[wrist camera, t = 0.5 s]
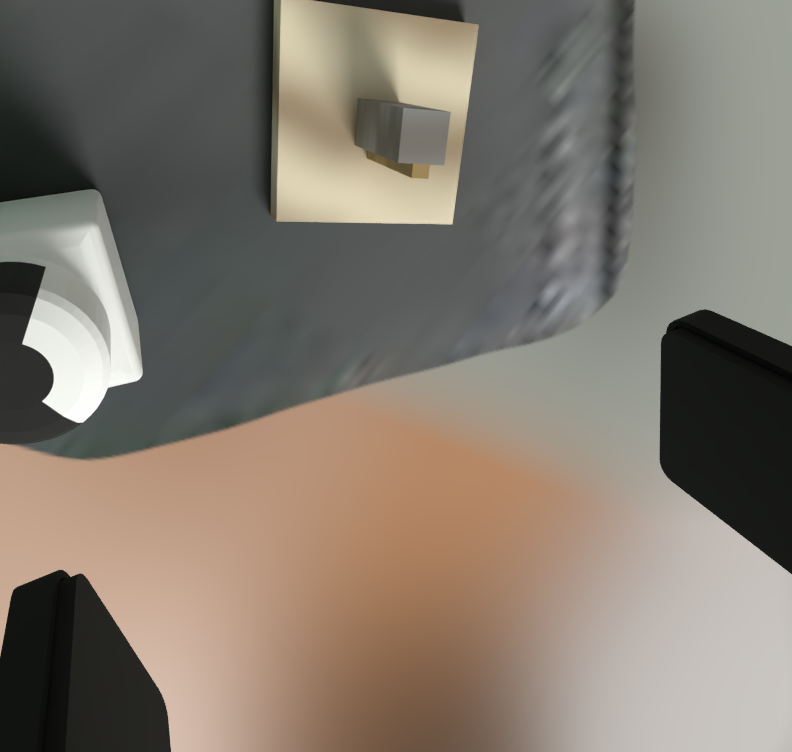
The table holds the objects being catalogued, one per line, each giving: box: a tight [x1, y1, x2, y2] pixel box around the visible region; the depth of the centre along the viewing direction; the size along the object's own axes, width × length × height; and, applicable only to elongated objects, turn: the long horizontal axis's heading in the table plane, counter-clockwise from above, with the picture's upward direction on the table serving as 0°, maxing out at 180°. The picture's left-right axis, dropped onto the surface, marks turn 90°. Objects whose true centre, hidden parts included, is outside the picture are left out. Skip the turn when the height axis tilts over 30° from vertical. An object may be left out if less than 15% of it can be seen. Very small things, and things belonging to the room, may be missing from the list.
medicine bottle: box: [0, 189, 143, 444], centre depth 27 cm, size 7×7×12 cm
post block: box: [271, 0, 479, 224], centre depth 31 cm, size 10×10×8 cm
